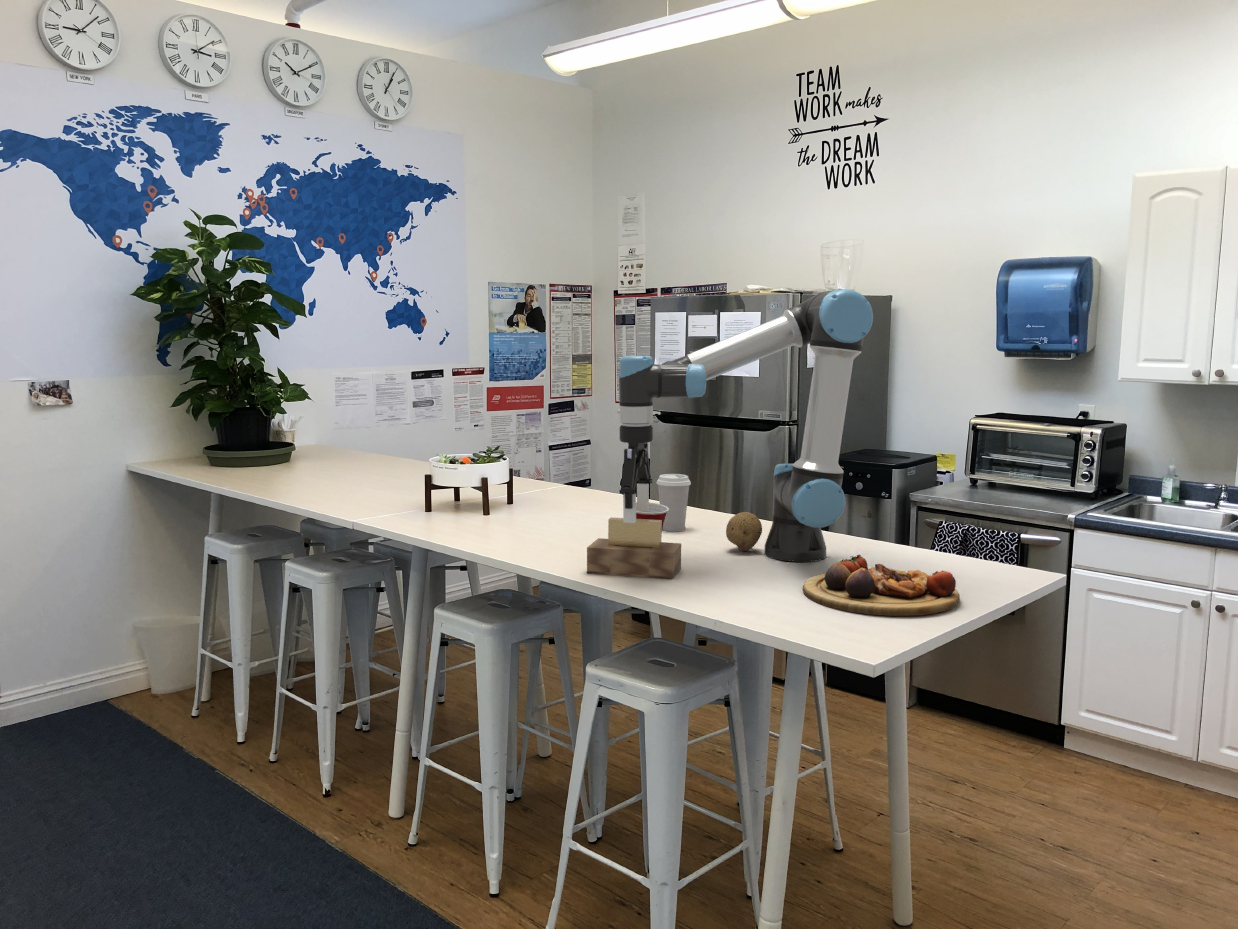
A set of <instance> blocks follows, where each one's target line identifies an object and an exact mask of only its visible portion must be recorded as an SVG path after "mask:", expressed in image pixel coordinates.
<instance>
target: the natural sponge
mask: <svg viewBox="0 0 1238 929" xmlns="http://www.w3.org/2000/svg"><path fill="white" fill-rule="evenodd" d="M762 525H763V524H762V521H761V520H760V519H759V517H758V516H756V514H753V513H751V512H749V511H748V512H747V511H743V512H739V513H736V514H735V515H733V516H732V517H731V518H729V521H728V522H727V525H726V528H725V529H726V530H725V535H726V538H727V540H728V541H729V542H730V543H731V544H733V545H735V546H736V547H737V548H738V549H739V550H740V551H743V552H746V551H749V550H752V548H754V547H755V546H756V544H757V543H758V541H759V540H760V538H761V536H762V533H763V526H762Z"/></svg>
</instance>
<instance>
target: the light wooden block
mask: <svg viewBox="0 0 1238 929" xmlns="http://www.w3.org/2000/svg"><path fill="white" fill-rule="evenodd" d="M607 521H608V522H607V523H608V526H607V528H608V531H607V532H608V534H607V535H608V536H607V537H608V538H607V539H608V545H617V546H620V547H636V548H660V547H661V542H662V534H663V530H662V520H648V519H636V523H623V517H611V516H610V517H609V519H608V520H607Z"/></svg>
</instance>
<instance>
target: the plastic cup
mask: <svg viewBox="0 0 1238 929" xmlns="http://www.w3.org/2000/svg"><path fill="white" fill-rule="evenodd" d="M668 511H669V508H668V507H667V506H664V505H661V504H660V503H657V502H650V501H649V511H648V512H647V511H637V501H636V519H648V520H662V529H663V524H664V520H665V516H666V514H667V512H668Z"/></svg>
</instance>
